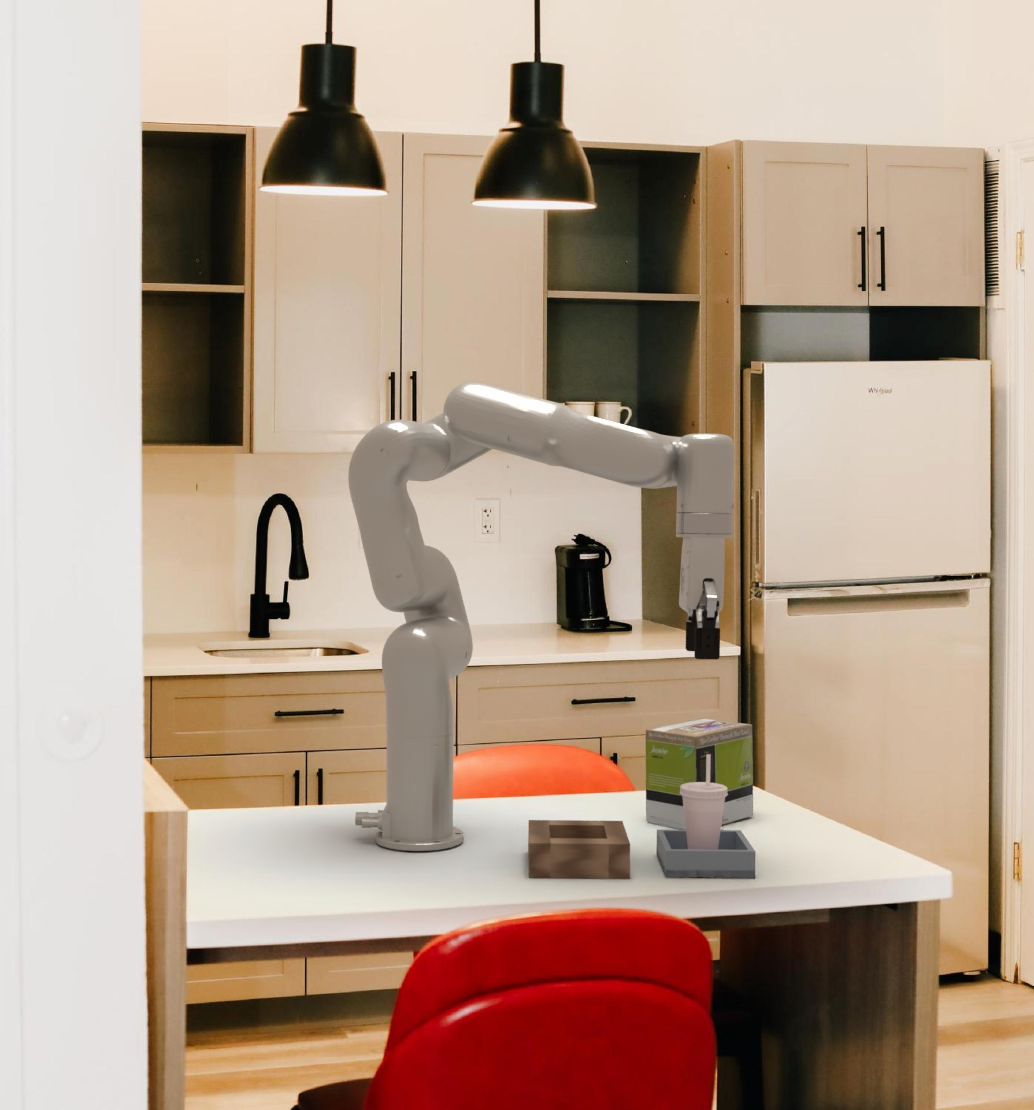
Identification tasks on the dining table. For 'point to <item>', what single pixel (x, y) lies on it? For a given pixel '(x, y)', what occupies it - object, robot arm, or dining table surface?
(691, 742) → the tea box
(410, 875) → the dining table surface
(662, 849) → the tray
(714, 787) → the smoothie
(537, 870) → the socket holder
